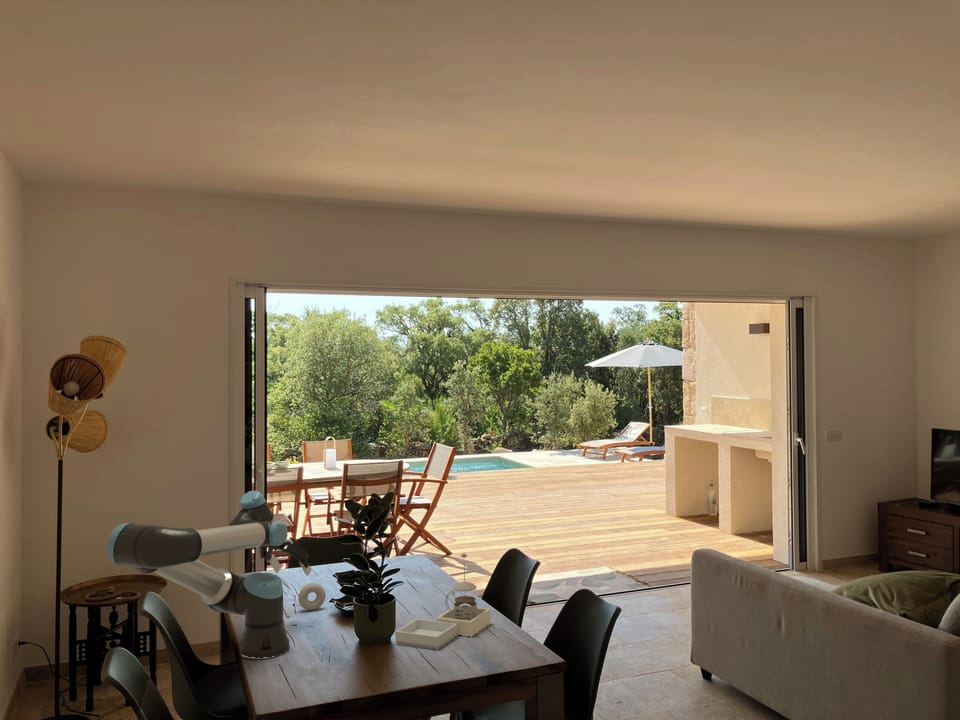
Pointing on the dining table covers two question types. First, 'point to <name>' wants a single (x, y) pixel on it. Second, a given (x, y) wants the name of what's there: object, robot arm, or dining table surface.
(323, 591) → the donut
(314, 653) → the dining table surface
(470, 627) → the cream open box
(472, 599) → the french press
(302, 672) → the dining table surface
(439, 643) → the tray
